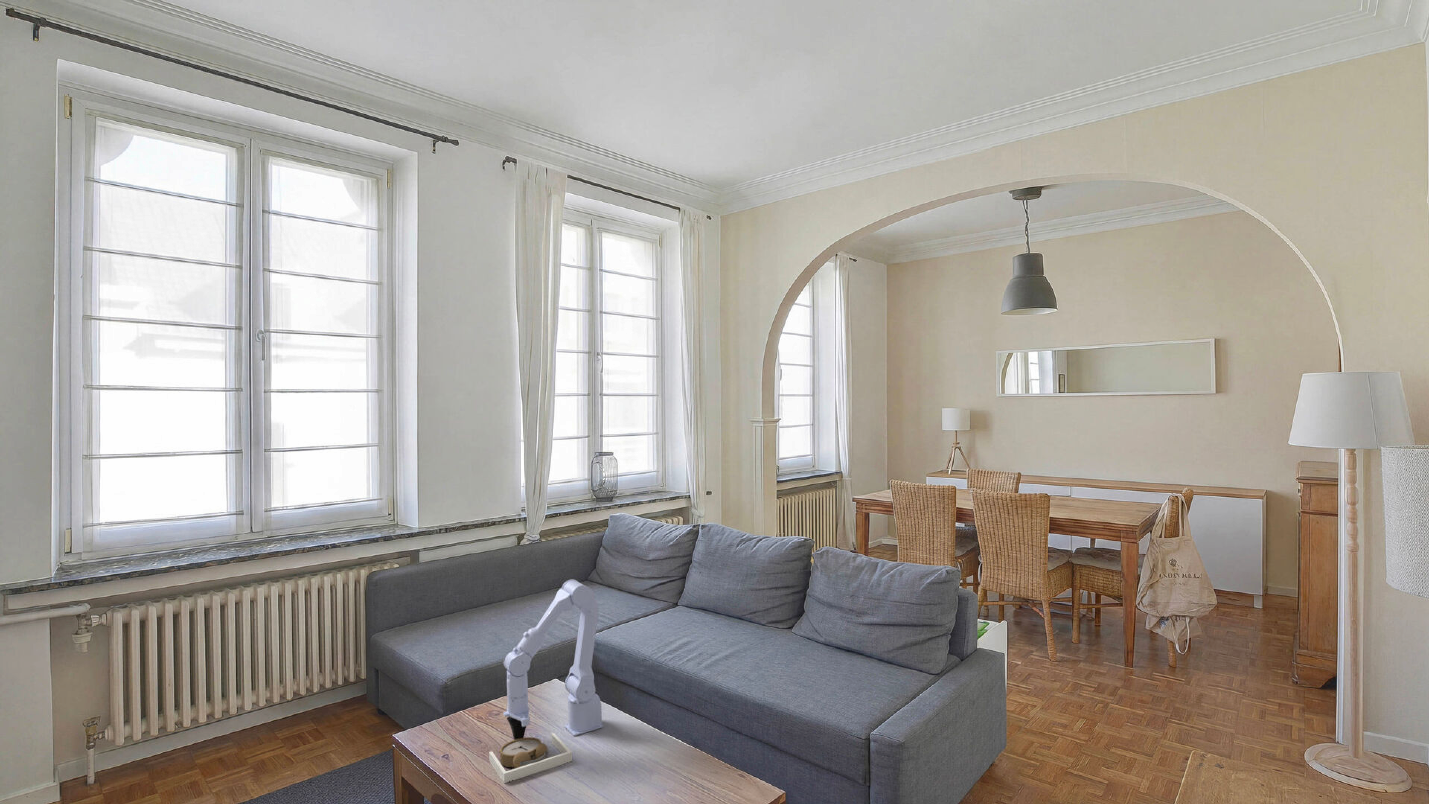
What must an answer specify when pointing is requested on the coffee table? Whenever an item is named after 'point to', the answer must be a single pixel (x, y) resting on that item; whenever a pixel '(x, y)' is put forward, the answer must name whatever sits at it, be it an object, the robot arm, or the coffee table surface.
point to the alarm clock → (522, 752)
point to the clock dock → (535, 766)
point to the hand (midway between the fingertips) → (518, 741)
